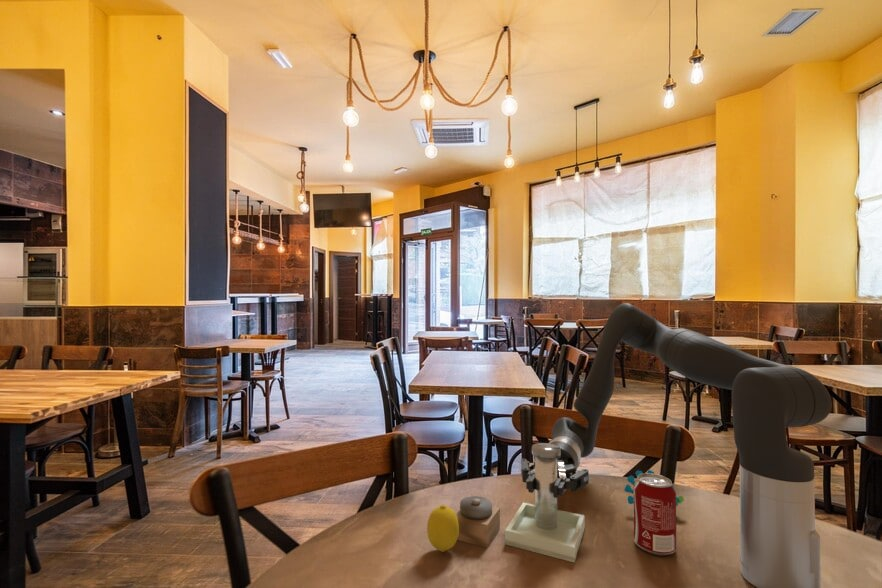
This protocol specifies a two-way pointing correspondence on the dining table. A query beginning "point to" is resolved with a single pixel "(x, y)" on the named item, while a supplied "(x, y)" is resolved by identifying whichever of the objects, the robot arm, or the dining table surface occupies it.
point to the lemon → (443, 528)
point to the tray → (546, 533)
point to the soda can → (655, 514)
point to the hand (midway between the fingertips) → (542, 489)
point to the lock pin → (545, 484)
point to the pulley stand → (477, 521)
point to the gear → (629, 489)
